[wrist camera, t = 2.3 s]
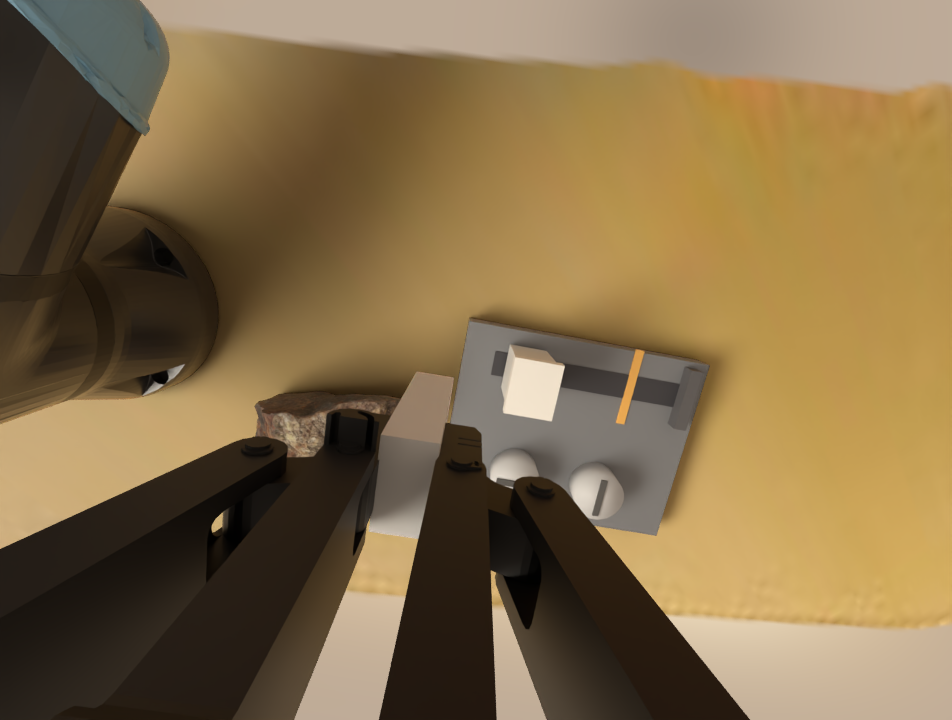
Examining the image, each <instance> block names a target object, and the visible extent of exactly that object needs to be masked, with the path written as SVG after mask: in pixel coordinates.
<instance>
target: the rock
mask: <svg viewBox="0 0 952 720" xmlns="http://www.w3.org/2000/svg"><path fill="white" fill-rule="evenodd" d="M400 400H401V398H395V397H391V396H386V395H384V396H378V395H364V394H359V395H358V394H349V395H333V394H332V393H327V392H324V391H317V392H309V393H297V394H293V393H288V394H278V395H276V396H274V397H272V398H270V399H267V400H263V401H259V402H258V403H257V404H256V405H255V409H256V411H257V414H258V417H259V418H258V420H257V432H256V436H261V437H262V436H265V437H269V438H273V439H278V440H280V441H282V442H284V443H285V444H286V445H287V446H288V453H287V457H312V456H314V455H315V454H316V453H317V452H318V451H319V449H320V448H321V447H322V446H323V445H324V436H325V426H326V415H327V413H329V412H331V411H333V410H337V409H348V408H351V409H361V410H365V411H369V412H371V413H378V414H384V415H391V416H392V414H393V412H394V410H395V409H396V407H397V405H398V403H399V402H400Z"/></svg>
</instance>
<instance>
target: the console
mask: <svg viewBox="0 0 952 720" xmlns="http://www.w3.org/2000/svg"><path fill="white" fill-rule="evenodd" d="M510 344H511V345H517V346H522V347H528V348H533V349H539V350H544V351H547V352H548V353H549V354H550V356H551V357H552V358H553V359H554V360H555V361H556V362H557V363H563V365H564V366H565V368H564V372H563V376H562V381H561V385H560V389H559V393H558V397H557V402H556V406H555V410H554V414H553V418H552V421H546V420H540V419H535V418H529V417H523V416H517V415H512V414H506V413H503V405H504V397H503V393H502V389H501V385H502V380H503V375H504V371H505V366H506V361H507V356H508V351H509V347H510ZM709 366H710V365H708V364H706V363H703V362H701V361H699V360H695V359H690V358H684V357H679V356H673V355H668V354H663V353H657V352H652V351H646V350H641V349H636V348H630V347H625V346H619V345H614V344H608V343H603V342H598V341H592V340H587V339H581V338H576V337H571V336H565V335H560V334H554V333H549V332H544V331H538V330H533V329H527V328H522V327H517V326H511V325H506V324H500V323H495V322H490V321H484V320H479V319H473V318H469V324H468V329H467V334H466V340H465V345H464V351H463V356H462V362H461V367H460V372H459V378H458V383H457V389H456V394H455V399H454V405H453V410H452V416H451V421H450V424H457V425H463V426H469V427H475V428H476V429H477V430H478V431H479V432H480V433H481V434H482V462H483V463H484V464H485V467H486V470H487V477H488V478H490V479H491V480H493V481H494V482H496V483H498V484H501V485H503V486H506V487H509V488H512V489H513V485H514V482H515V481H516V479H519V478H521V477H527V476H533V477H538V476H539V477H544V479H545V478H547V479H550V480H551V481H553V482H554V483H556V484H558V485H560V486H561V487H562V488H563V489H564V490H566V492H567V493H568V494H569V495H570V497H571V498H572V499H573V500H574V502H575V503H576V504H577V505H578V507H579V508H580V509H581V510H582V512H583V513H584V514H585V515H586V517H587V518H588V519H589V520H590V522H591V523H592V524H593V525H594V526H600V527H606V528H612V529H618V530H624V531H631V532H637V533H643V534H649V535H655V536H656V535H657V532H658V529H659V525H660V522H661V519H662V516H663V513H664V510H665V506H666V503H667V500H668V497H669V494H670V490H671V487H672V484H673V481H674V478H675V475H676V471H677V468H678V465H679V462H680V459H681V455H682V452H683V449H684V446H685V443H686V440H687V436H688V433H689V430H690V427H691V424H692V420H693V417H694V414H695V411H696V408H697V405H698V401H699V398H700V395H701V392H702V389H703V385H704V382H705V379H706V376H707V373H708V370H709Z"/></svg>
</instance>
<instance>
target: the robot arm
mask: <svg viewBox="0 0 952 720" xmlns="http://www.w3.org/2000/svg"><path fill="white" fill-rule="evenodd" d="M169 58H170V56H169V48H168V44H167V41H166V38H165V35H164V33H163V31H162V29H161V27H160V26H159V24H158V22H157V21H156V19H155V18H154V17H153V15H152V14H151V13H150V12H149V10H148V9H147V8H146V7H145V6H144V5H143V3H142V2H141V1H140V0H0V424H2V423H5V422H8V421H11V420H14V419H16V418H19V417H22V416H25V415H28V414H31V413H33V412H36V411H39V410H42V409H45V408H48V407H50V406H53V405H56V404H58V403H61V402H64V401H67V400H100V399H132V398H138V397H143V396H147V395H151V394H154V393H157V392H159V391H161V390H164V389H166V388H169V387H171V386H173V385H176V384H178V383H180V382H181V381H183V380H185V379H186V378H188V377H189V376H190V375H192V374H193V373H194V372H195V371H196V370H197V369H198V368H199V367H200V366H201V364H202V363H203V362H204V361H205V359H206V358H207V356H208V354H209V352H210V350H211V348H212V346H213V343H214V340H215V337H216V333H217V327H218V304H217V298H216V293H215V290H214V286H213V283H212V281H211V278H210V276H209V274H208V271H207V270H206V268H205V266H204V264H203V263H202V261H201V259H200V258H199V256H198V255H197V254H196V252H195V251H194V250H193V249H192V247H191V246H190V245H189V244H188V243H187V242H186V241H185V240H184V239H183V238H182V237H181V236H180V235H178V234H177V233H176V232H175V231H174V230H172V229H171V228H170V227H168V226H167V225H165V224H163V223H162V222H160V221H158V220H156V219H155V218H152V217H150V216H148V215H146V214H143V213H140V212H137V211H134V210H130V209H125V208H119V207H112V206H107V204H108V202H109V200H110V198H111V196H112V194H113V192H114V190H115V188H116V186H117V183H118V181H119V179H120V177H121V175H122V173H123V171H124V169H125V167H126V165H127V163H128V161H129V159H130V157H131V154H132V152H133V150H134V148H135V146H136V144H137V142H138V140H139V138H140V136H141V134H143V135H144V136H146V134H147V133H148V132H149V130H150V127H149V124H148V119H149V116H150V114H151V111H152V109H153V106H154V104H155V101H156V99H157V96H158V94H159V91H160V89H161V86H162V84H163V81H164V79H165V76H166V74H167V71H168V67H169ZM453 381H454V377H449V376H442V375H436V374H430V373H423V372H416V373H415V375H414V377H413V379H412V380H411V382H410V384H409V386H408V387H407V389H406V391H405V393H404V394H403V396H402V398H401V400H400V402H399V403H398V405H397V407H396V409H395V410H394V412H393V414H392V416H391V415H384V414H378V413H371V412H369V411H365V410H361V409H351V408H348V409H337V410H333V411H331V412H329V413H327V415H326V426H325V436H324V445H323V446H322V447H321V448H320V449H319V451H318V452H317V453H316V454H315V455H314V456H312V457H287V453H288V446H287V445H286V444H285V443H284V442H282V441H280V440H278V439H273V438H269V437H265V436H262V437H261V436H255V437H252V438H247V439H242V440H239V441H236V442H233V443H231V444H229V445H227V446H224V447H222V448H220V449H218V450H216V451H214V452H211V453H209V454H207V455H205V456H203V457H200V458H198V459H196V460H194V461H192V462H190V463H187V464H185V465H183V466H181V467H179V468H176V469H174V470H172V471H170V472H168V473H165V474H163V475H161V476H159V477H157V478H155V479H152V480H150V481H148V482H146V483H144V484H141V485H139V486H137V487H135V488H133V489H131V490H128V491H126V492H124V493H122V494H120V495H117V496H115V497H113V498H111V499H109V500H107V501H104V502H102V503H100V504H98V505H96V506H93V507H91V508H89V509H87V510H85V511H82V512H80V513H78V514H76V515H74V516H72V517H69V518H67V519H65V520H63V521H61V522H58V523H56V524H54V525H52V526H50V527H48V528H45V529H43V530H41V531H39V532H37V533H34V534H32V535H30V536H28V537H26V538H24V539H21V540H19V541H17V542H15V543H13V544H10V545H8V546H6V547H4V548H2V549H0V720H294V718H295V716H296V713H297V710H298V708H299V706H300V703H301V701H302V698H303V695H304V693H305V691H306V688H307V686H308V683H309V680H310V678H311V676H312V673H313V671H314V668H315V666H316V663H317V661H318V658H319V656H320V653H321V651H322V648H323V646H324V643H325V641H326V638H327V635H328V633H329V630H330V628H331V625H332V623H333V620H334V618H335V615H336V613H337V610H338V608H339V605H340V603H341V600H342V598H343V595H344V593H345V590H346V588H347V585H348V583H349V580H350V578H351V575H352V573H353V570H354V568H355V565H356V563H357V560H358V558H359V555H360V553H361V550H362V548H363V545H364V542H365V534H366V526H367V523H368V521H369V519H370V525H369V532H375V533H382V534H389V535H396V536H402V537H409V538H416V539H418V543H417V548H416V552H415V557H414V561H413V566H412V571H411V575H410V580H409V584H408V589H407V594H406V598H405V603H404V608H403V612H402V616H401V621H400V626H399V630H398V635H397V639H396V645H395V649H394V653H393V658H392V662H391V667H390V672H389V676H388V681H387V685H386V690H385V694H384V699H383V703H382V708H381V713H380V717H379V720H496V694H495V672H494V671H495V669H494V644H493V621H492V594H491V570H492V571H494V572H496V576H495V579H496V585H497V588H498V591H499V593H500V596H501V599H502V601H503V604H504V607H505V609H506V612H507V615H508V617H509V620H510V623H511V626H512V628H513V630H514V634H515V636H516V639H517V641H518V644H519V647H520V649H521V652H522V655H523V657H524V660H525V663H526V666H527V668H528V671H529V674H530V676H531V679H532V681H533V684H534V687H535V690H536V692H537V695H538V697H539V700H540V703H541V706H542V708H543V711H544V713H545V716H546V719H547V720H750V719H749V718H748V717H747V715H746V714H745V713H744V712H743V710H742V709H741V708H740V707H739V706H738V704H737V703H736V702H735V701H734V699H733V698H732V697H731V696H730V694H729V693H728V692H727V691H726V689H725V688H724V687H723V686H722V684H721V683H720V682H719V681H718V680H717V678H716V677H715V676H714V674H713V673H712V672H711V671H710V670H709V668H708V667H707V666H706V664H705V663H704V662H703V661H702V660H701V658H700V657H699V656H698V655H697V653H696V652H695V651H694V650H693V648H692V647H691V646H690V645H689V643H688V642H687V641H686V640H685V638H684V637H683V636H682V635H681V634H680V632H679V631H678V630H677V628H676V627H675V626H674V625H673V623H672V622H671V621H670V620H669V618H668V617H667V616H666V615H665V614H664V612H663V611H662V610H661V609H660V607H659V606H658V605H657V604H656V602H655V601H654V600H653V599H652V597H651V596H650V595H649V594H648V592H647V591H646V590H645V589H644V587H643V586H642V585H641V584H640V582H639V581H638V580H637V579H636V577H635V576H634V575H633V574H632V572H631V571H630V570H629V569H628V568H627V566H626V565H625V564H624V563H623V561H622V560H621V559H620V558H619V556H618V555H617V554H616V553H615V551H614V550H613V549H612V548H611V546H610V545H609V544H608V543H607V541H606V540H605V539H604V538H603V536H602V535H601V534H600V533H599V531H598V530H597V529H596V528H595V526H594V525H593V524H592V523H591V522H590V520H589V519H588V518H587V517H586V515H585V514H584V513H583V512H582V510H581V509H580V508H579V507H578V505H577V504H576V503H575V502H574V500H573V499H572V498H571V497H570V495H569V494H568V493H567V492H566V490H564V489H563V488H562V487H561V486H560V485H558V484H556V483H554V482H553V481H551V480H550V479H547V478H545V479H544V477H539V476H538V477H533V476H527V477H521V478H519V479H516V481H515V482H514V485H513V489H512V488H509V487H506V486H503V485H501V484H498V483H496V482H494V481H493V480H491V479H490V478H488V477H487V470H486V467H485V464H484V463H483V462H482V434H481V433H480V432H479V431H478V430H477V429H476V428H475V427H469V426H463V425H457V424H450V423H447V419H448V413H449V406H450V400H451V394H452V387H453ZM222 512H223V526H222V527H221V528H220V529H219V530H217V531H216V532H213V533H212V530H211V527H212V524H213V522H214V520H215V519H216V518H217V517H218V516H219V515H220V514H221V513H222ZM370 516H371V517H370Z"/></svg>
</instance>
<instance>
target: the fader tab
mask: <svg viewBox="0 0 952 720" xmlns="http://www.w3.org/2000/svg"><path fill="white" fill-rule="evenodd" d="M564 368H565V366H564V365H563V363H557V362H556V361H555V360H554V359H553V358H552V357H551V356H550V354H549V353H548V352H547V351H544V350H539V349H533V348H528V347H522V346H517V345H511V344H510V347H509V351H508V356H507V361H506V366H505V371H504V375H503V380H502V385H501V389H502V393H503V397H504V405H503V413H506V414H512V415H517V416H523V417H529V418H535V419H540V420H546V421H552V418H553V414H554V410H555V406H556V402H557V397H558V393H559V389H560V385H561V381H562V376H563V372H564Z"/></svg>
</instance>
